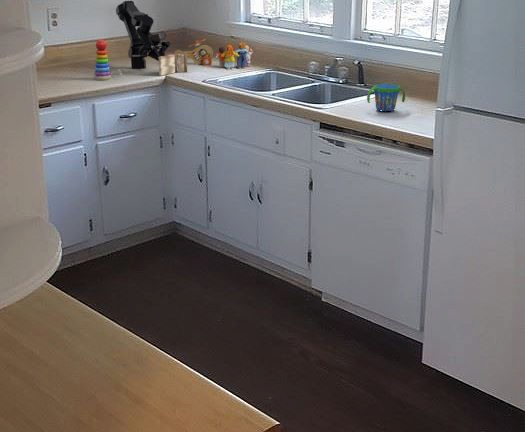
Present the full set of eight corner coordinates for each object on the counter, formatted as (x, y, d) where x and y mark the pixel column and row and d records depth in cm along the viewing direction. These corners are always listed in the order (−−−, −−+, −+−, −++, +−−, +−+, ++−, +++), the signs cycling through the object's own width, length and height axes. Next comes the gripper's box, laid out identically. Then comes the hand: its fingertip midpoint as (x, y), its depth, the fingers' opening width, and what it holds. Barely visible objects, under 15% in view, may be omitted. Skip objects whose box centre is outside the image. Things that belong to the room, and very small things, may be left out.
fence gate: (175, 71, 405) (174, 53, 401) (178, 71, 404) (177, 53, 400) (158, 75, 396) (158, 56, 392) (161, 75, 395) (161, 57, 391)
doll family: (251, 65, 426) (251, 40, 421) (259, 68, 418) (259, 42, 413) (214, 68, 417) (213, 42, 413) (221, 71, 409) (221, 45, 405)
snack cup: (401, 107, 337) (403, 83, 333) (407, 113, 327) (408, 88, 323) (364, 107, 336) (365, 83, 332) (368, 113, 326) (370, 88, 323)
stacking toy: (97, 81, 387) (94, 41, 380) (92, 78, 393) (89, 39, 386) (113, 79, 390) (110, 40, 383) (108, 76, 397) (105, 38, 390)
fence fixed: (178, 72, 403) (177, 53, 400) (178, 72, 405) (177, 53, 401) (187, 72, 404) (187, 53, 401) (186, 71, 406) (186, 52, 402)
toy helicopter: (213, 66, 422) (213, 40, 418) (173, 67, 420) (172, 40, 415) (213, 63, 430) (212, 37, 425) (173, 64, 428) (172, 38, 423)
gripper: (142, 28, 386) (161, 54, 384) (167, 24, 401) (185, 49, 399) (130, 43, 393) (148, 68, 391) (155, 38, 407) (172, 63, 406)
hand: (164, 62), depth 397 cm, fingers closed on fence gate, 2 cm apart
